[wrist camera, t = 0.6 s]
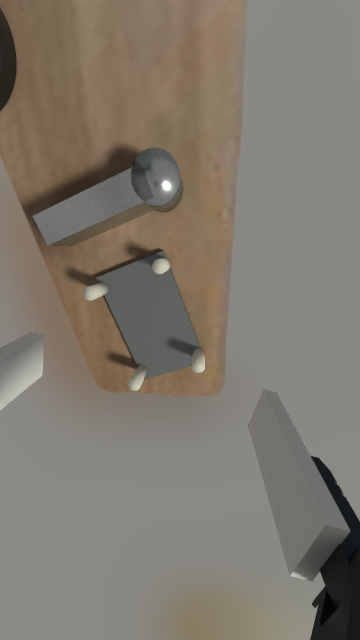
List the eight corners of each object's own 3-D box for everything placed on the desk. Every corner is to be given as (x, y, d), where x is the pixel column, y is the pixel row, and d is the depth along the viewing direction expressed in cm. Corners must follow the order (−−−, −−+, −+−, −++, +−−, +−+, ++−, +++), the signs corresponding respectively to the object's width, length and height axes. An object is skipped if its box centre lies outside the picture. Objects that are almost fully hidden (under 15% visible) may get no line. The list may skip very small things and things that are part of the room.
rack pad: (95, 278, 38) (77, 283, 32) (167, 249, 35) (160, 249, 29) (142, 377, 43) (133, 397, 37) (207, 358, 40) (208, 376, 35)
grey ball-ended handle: (74, 252, 37) (51, 252, 31) (56, 214, 35) (28, 208, 29) (188, 202, 33) (186, 192, 27) (174, 158, 31) (168, 138, 26)
